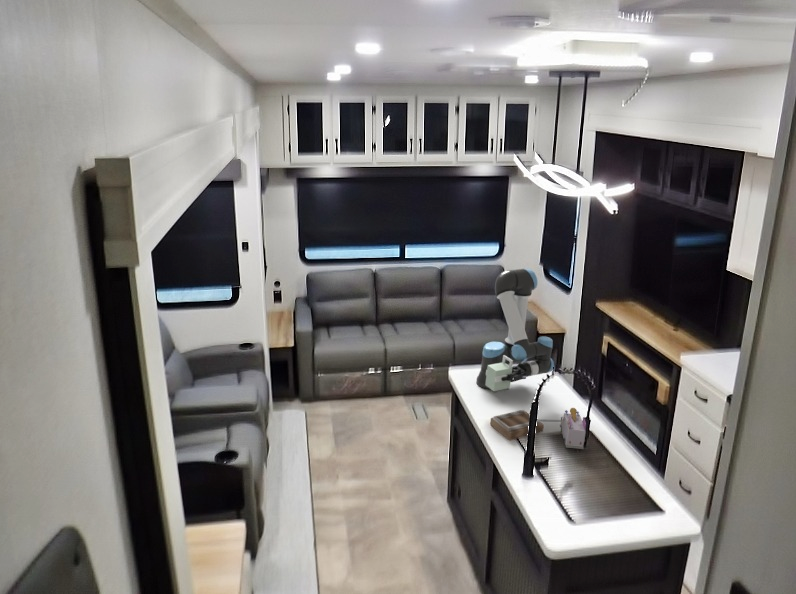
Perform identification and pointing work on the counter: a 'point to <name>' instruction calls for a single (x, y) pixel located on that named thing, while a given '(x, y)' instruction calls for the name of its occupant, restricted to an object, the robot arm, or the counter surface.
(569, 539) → the counter surface
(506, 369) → the trolley
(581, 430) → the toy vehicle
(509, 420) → the tray
